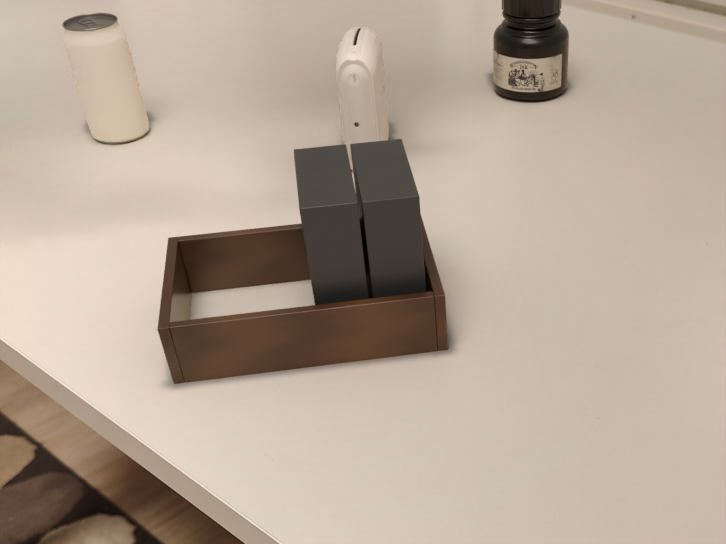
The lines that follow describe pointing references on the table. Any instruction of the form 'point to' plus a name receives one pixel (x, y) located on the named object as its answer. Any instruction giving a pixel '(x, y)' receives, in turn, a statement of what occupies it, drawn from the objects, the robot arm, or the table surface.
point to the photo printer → (361, 88)
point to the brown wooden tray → (283, 310)
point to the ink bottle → (530, 50)
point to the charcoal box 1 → (330, 224)
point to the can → (105, 77)
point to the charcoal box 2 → (388, 218)
